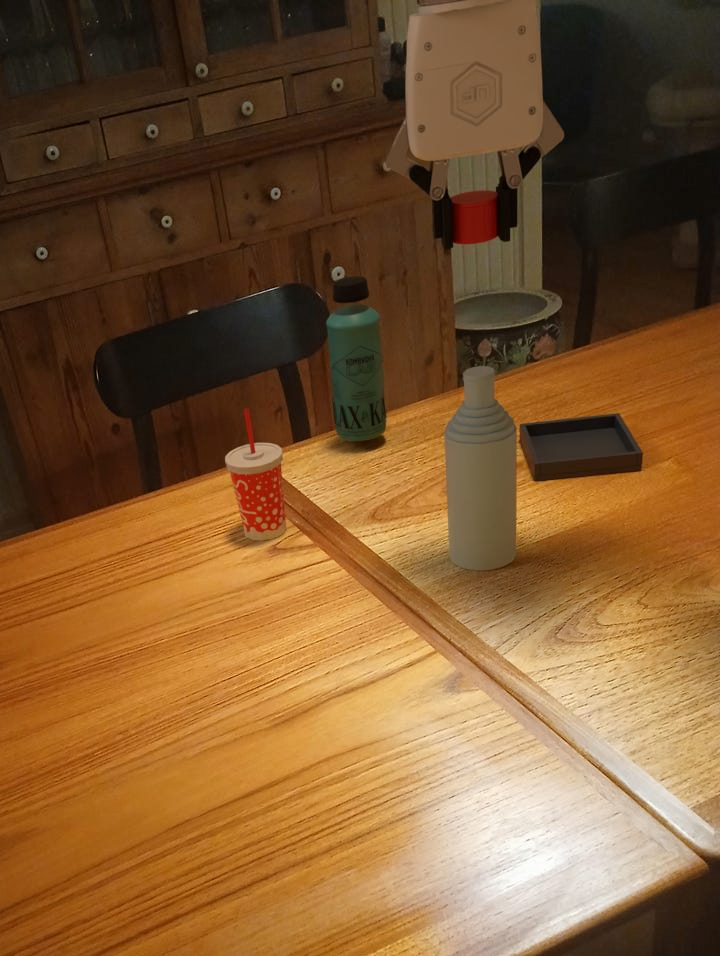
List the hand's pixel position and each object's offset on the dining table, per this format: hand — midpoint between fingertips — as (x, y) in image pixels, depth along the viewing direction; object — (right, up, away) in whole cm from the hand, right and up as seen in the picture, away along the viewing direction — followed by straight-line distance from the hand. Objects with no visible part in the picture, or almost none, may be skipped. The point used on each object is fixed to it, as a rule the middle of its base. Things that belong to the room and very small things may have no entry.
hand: (475, 240), depth 82 cm
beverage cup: (-17, -22, +26) cm, 38 cm away
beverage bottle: (-4, -9, +41) cm, 42 cm away
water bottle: (+4, -25, +14) cm, 29 cm away
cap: (0, 0, 0) cm, 0 cm away
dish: (+19, -12, +29) cm, 37 cm away
